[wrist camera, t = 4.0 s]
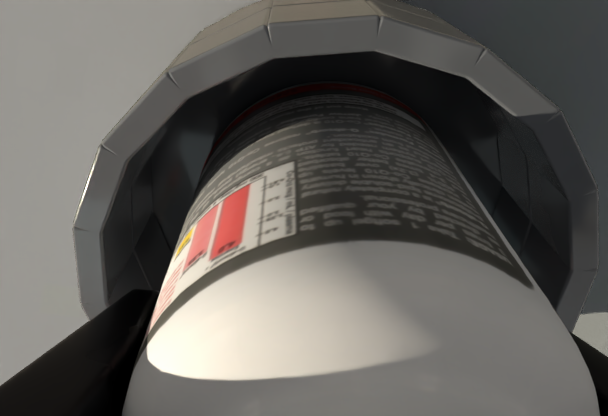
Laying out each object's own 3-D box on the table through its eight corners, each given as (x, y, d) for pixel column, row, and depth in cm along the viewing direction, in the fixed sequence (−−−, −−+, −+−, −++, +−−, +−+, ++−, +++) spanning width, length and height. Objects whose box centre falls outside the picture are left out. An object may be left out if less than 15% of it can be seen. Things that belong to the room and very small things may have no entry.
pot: (567, 9, 11) (692, 49, 8) (464, 348, 16) (514, 474, 12) (126, -39, 11) (45, -22, 7) (141, 326, 15) (93, 451, 11)
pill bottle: (152, 200, 13) (-162, 812, 4) (325, 14, 11) (455, 387, 2) (326, 333, 15) (375, 949, 6) (498, 193, 13) (947, 782, 4)
